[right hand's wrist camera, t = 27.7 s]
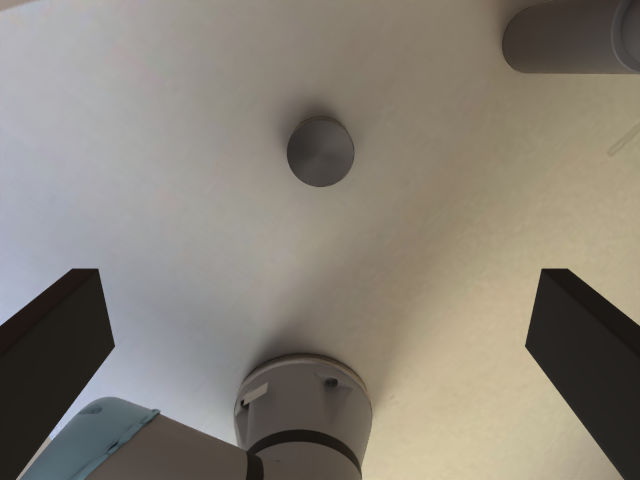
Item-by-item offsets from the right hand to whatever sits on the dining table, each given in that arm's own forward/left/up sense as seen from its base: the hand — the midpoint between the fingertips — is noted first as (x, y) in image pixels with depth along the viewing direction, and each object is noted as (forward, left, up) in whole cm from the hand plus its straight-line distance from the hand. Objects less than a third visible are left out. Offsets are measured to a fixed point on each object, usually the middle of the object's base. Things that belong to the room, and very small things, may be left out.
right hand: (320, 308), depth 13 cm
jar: (+3, -19, -26) cm, 33 cm away
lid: (0, 0, -24) cm, 25 cm away
